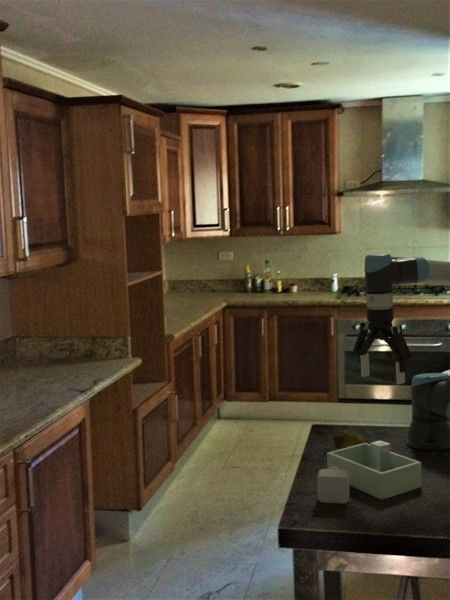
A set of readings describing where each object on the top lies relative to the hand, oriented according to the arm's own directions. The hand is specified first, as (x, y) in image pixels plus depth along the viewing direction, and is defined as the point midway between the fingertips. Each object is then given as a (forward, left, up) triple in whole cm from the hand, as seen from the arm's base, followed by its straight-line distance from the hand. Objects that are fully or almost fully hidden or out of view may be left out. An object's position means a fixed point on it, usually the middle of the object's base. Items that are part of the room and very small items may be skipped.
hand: (382, 379), depth 212 cm
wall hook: (+25, +7, -27) cm, 38 cm away
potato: (-2, -15, -27) cm, 31 cm away
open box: (+9, +5, -27) cm, 29 cm away
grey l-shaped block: (+10, +5, -27) cm, 29 cm away
